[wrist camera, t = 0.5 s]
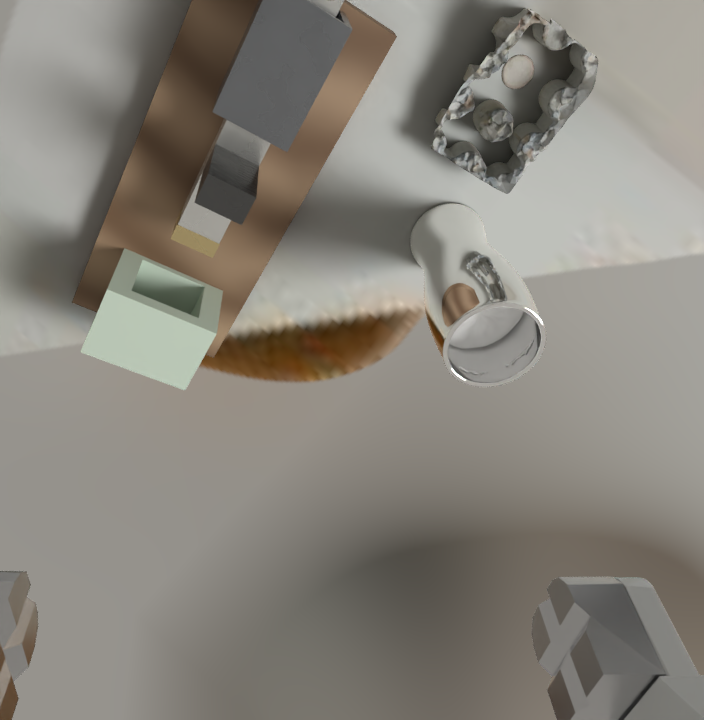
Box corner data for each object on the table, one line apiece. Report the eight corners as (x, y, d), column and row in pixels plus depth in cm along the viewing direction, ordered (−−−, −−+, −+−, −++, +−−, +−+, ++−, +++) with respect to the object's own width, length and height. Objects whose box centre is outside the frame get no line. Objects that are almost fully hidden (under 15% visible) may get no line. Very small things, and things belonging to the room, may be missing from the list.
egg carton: (513, -11, 42) (532, -1, 39) (593, 56, 45) (617, 70, 42) (416, 130, 47) (426, 149, 44) (493, 182, 50) (508, 204, 47)
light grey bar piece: (316, -84, 37) (323, -73, 30) (363, -52, 38) (379, -34, 31) (176, 219, 47) (159, 275, 40) (216, 238, 48) (205, 295, 42)
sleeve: (273, -34, 39) (272, -22, 35) (346, 13, 40) (352, 29, 37) (219, 89, 43) (212, 111, 39) (286, 126, 44) (287, 152, 40)
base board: (224, -80, 38) (222, -78, 37) (393, 31, 43) (396, 36, 42) (76, 292, 52) (71, 302, 51) (214, 347, 57) (213, 357, 56)
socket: (128, 239, 50) (107, 289, 44) (224, 281, 53) (216, 333, 47) (103, 297, 53) (80, 352, 47) (195, 334, 56) (185, 390, 50)
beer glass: (387, 233, 52) (417, 343, 40) (460, 179, 49) (516, 279, 37) (434, 290, 55) (475, 406, 43) (505, 242, 53) (568, 351, 41)
